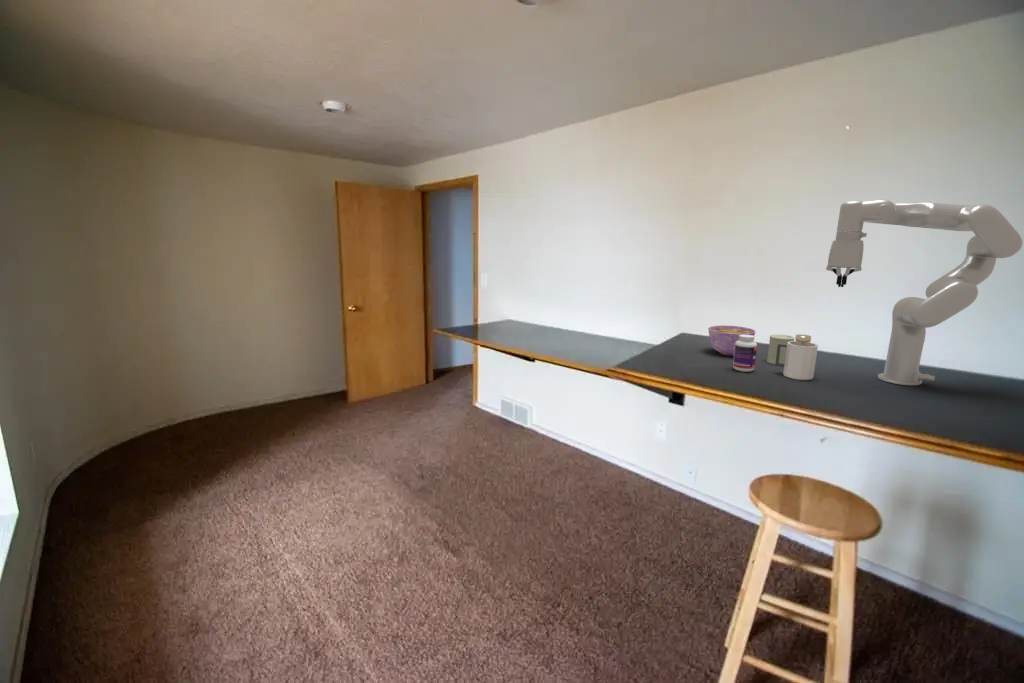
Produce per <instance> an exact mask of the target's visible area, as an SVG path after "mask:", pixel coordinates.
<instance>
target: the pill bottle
mask: <svg viewBox="0 0 1024 683" xmlns="http://www.w3.org/2000/svg"><path fill="white" fill-rule="evenodd" d="M739 339H740V340H738V341H736V343H735V350H734V356H733V362H732V367H733V370H735V371H738V372H742V373H743V372H746V373H748V372H749V373H750V372H753V371H754V370H755V368H756V361H757V360H756V359H757V350H758V344H757V342H756V341H755V335H754V336H752V335H739Z"/></svg>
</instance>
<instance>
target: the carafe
mask: <svg viewBox="0 0 1024 683" xmlns="http://www.w3.org/2000/svg"><path fill="white" fill-rule="evenodd" d="M818 346H819V344H817V343H814V342H804V346H801V342H798V341H795V340H794V341H790V342H788V343H787V344H780V343H778V347H777V355H776V363H775V364H774V366H775V367H782V368H783V373H782V375H783V376H784V377H786V378H790V379H794V380H800V381H810V380H813V379H814V375H815V367H816V360H817V354H818ZM781 347H786V348H787V349H786V357H785V364H783V363H779V358H780V350H781Z"/></svg>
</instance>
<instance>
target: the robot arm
mask: <svg viewBox="0 0 1024 683" xmlns="http://www.w3.org/2000/svg"><path fill="white" fill-rule="evenodd" d="M864 223H869V224H879V225H880V224H881V225H892V226H902V227H909V228H923V229H934V230H944V231H953V232H954V231H955V232H972V233H974V235H973V236H972V237H971V238H969V240H968V241H967V244H966V252H965V257H964V260H963V261H962V262H961V263H960V264H959V265H957V266H955V268H953V269H951V270H950V271H948V272H947V273H945V274H943V275H942V276H941V277H939V278H937V279H936V280H934V281H932V282H931V283H930V284H929V285H928V286H927V287H926V289H925V296H926V298H921V297H916V296H907V297H903V298H901V299H900V300H898V301H897V302H896V303H895V304H894V306H893V308H892V313H891V314H892V315H891V318H892V319H891V320H892V321H891V323H892V324H891V333H890V339H889V343H888V348H887V349H888V350H887V353H886V354H887V355H886V359H885V364H884V371H883V372H882V373H878V374H877V378H878V379H879V380H881V381H883V382H886V383H891V384H895V385H900V386H920V385H922V383H923V380H924V381H929V382H934V381H935V377H936V376H935V375H930V374H928V373H922V372H920V369H919V368H920V364H921V359H922V355H923V349H924V345H925V341H926V340H925V339H926V333H927V332H926V328H927V329H928V328H933V327H935V326H937V325H940V324H941V323H943V322H945V321H947V320H948V319H950V318H952V317H954V316H955V315H957V314H959V313H960V312H961V311H963V310H965V309H966V308H968V307H969V306H971V305H972V304H973V303H974V302H975V301H976V300H977V297H978V296H979V288H978V285H980V284H981V283H983V282H984V281H986V280H987V279H988V278H989V277H990V276H991V275H992V273H993V271H994V268H995V265H996V261H997V259H1004V258H1005V259H1006V258H1010V257H1013V256H1014V255H1016V254H1018V252H1020V250H1021V249H1022V246H1023V238H1022V237H1021V234H1019V232H1018V231H1017V230H1016V228H1015V227H1014V226H1013V225H1012V224H1011V222H1010V221H1009V220H1008V219H1007V218H1006V217H1005V216H1004V215H1003V214H1002V213H1001V211H1000V210H998V209H997V208H995V206H992V205H991V204H978V205H977V204H975V205H965V204H952V203H941V202H940V203H938V202H929V201H928V202H927V201H926V202H925V201H924V202H914V203H894V202H893V201H891V200H889V199H876V200H871V201H870V200H869V201H861V200H856V201H855V200H854V201H844V202H843V203H842V204H841V205H840V207H839V215H838V221H837V226H836V232H835V233H836V234H835V240H833V241H832V242H831V246H830V249H829V252H828V253H829V254H828V259H827V265H826V267H825V270H826V271H829V272H833V273H834V274H835V275H836V283H835V284H836V285H837V287H838V288H844V286H845V285H847V282H848V281H847V280H848V276H850V275H851V274H852V273H857V272H861V271H862V263H863V256H864V245H865V244H864V240H862V238H865V237H866V238H867V235H868V233H866V232H863V228H864ZM845 268H846V269H845ZM842 269H845V271H844V273H843V274H842Z"/></svg>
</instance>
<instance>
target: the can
mask: <svg viewBox="0 0 1024 683" xmlns="http://www.w3.org/2000/svg"><path fill="white" fill-rule="evenodd" d="M790 341H795V337H794V336H792V335H787V334H770V335H769V343H768V353H767V358H766V362H767V363H769V364H772V365H775V363H776V355H777V347H778V343H780V344H787V343H788V342H790ZM786 349H787V348H786V347H781V350H780V358H779V363H783V364H785V357H786Z"/></svg>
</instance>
